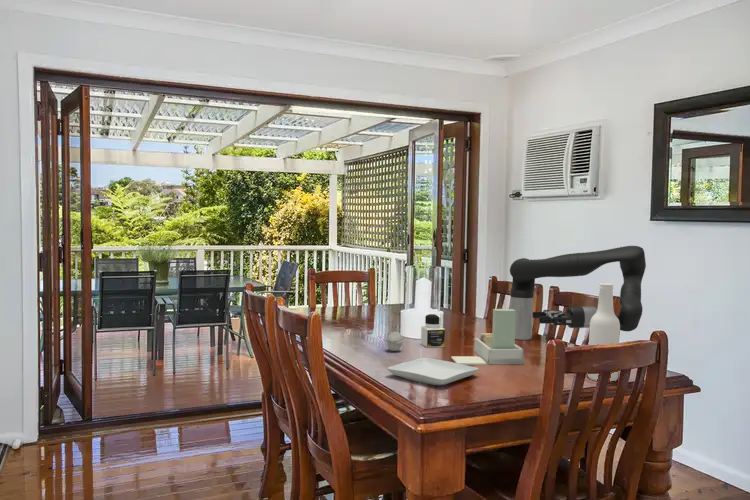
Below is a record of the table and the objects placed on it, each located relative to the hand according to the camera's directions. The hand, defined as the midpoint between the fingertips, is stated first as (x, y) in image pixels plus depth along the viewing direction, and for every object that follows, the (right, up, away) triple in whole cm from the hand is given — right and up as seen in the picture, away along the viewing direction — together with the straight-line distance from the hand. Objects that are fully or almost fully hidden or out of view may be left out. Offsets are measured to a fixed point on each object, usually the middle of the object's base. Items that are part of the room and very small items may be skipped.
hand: (535, 317), depth 212 cm
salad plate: (-38, -16, -24) cm, 48 cm away
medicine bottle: (-34, -14, +22) cm, 43 cm away
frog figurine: (-49, -14, +11) cm, 52 cm away
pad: (-24, -15, -3) cm, 28 cm away
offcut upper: (-13, -10, +10) cm, 19 cm away
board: (-12, -13, -2) cm, 18 cm away
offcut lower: (-13, -12, +10) cm, 21 cm away
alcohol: (+15, -17, -23) cm, 32 cm away
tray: (-13, -15, +4) cm, 20 cm away
